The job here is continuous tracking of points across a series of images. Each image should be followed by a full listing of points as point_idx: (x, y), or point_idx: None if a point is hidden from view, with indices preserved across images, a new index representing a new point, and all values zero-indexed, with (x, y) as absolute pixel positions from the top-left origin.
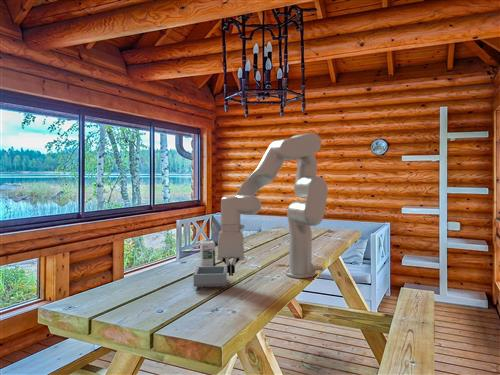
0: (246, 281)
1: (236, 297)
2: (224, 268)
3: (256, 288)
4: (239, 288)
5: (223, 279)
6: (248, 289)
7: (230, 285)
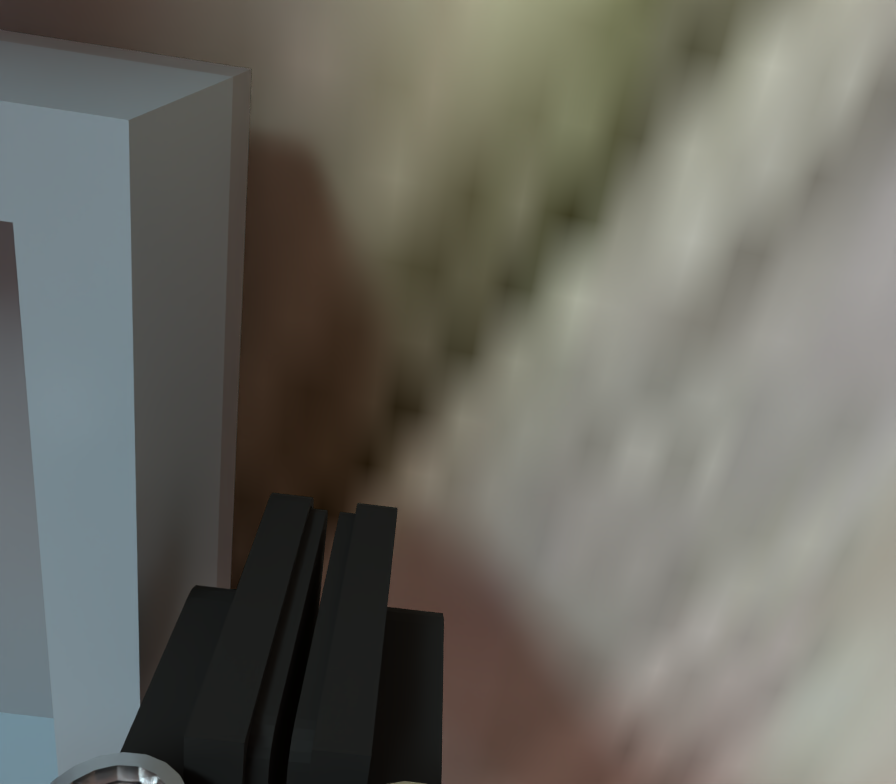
0: (784, 193)
1: None
2: (61, 492)
3: (810, 661)
4: (505, 610)
5: None
6: (652, 681)
7: (349, 415)
